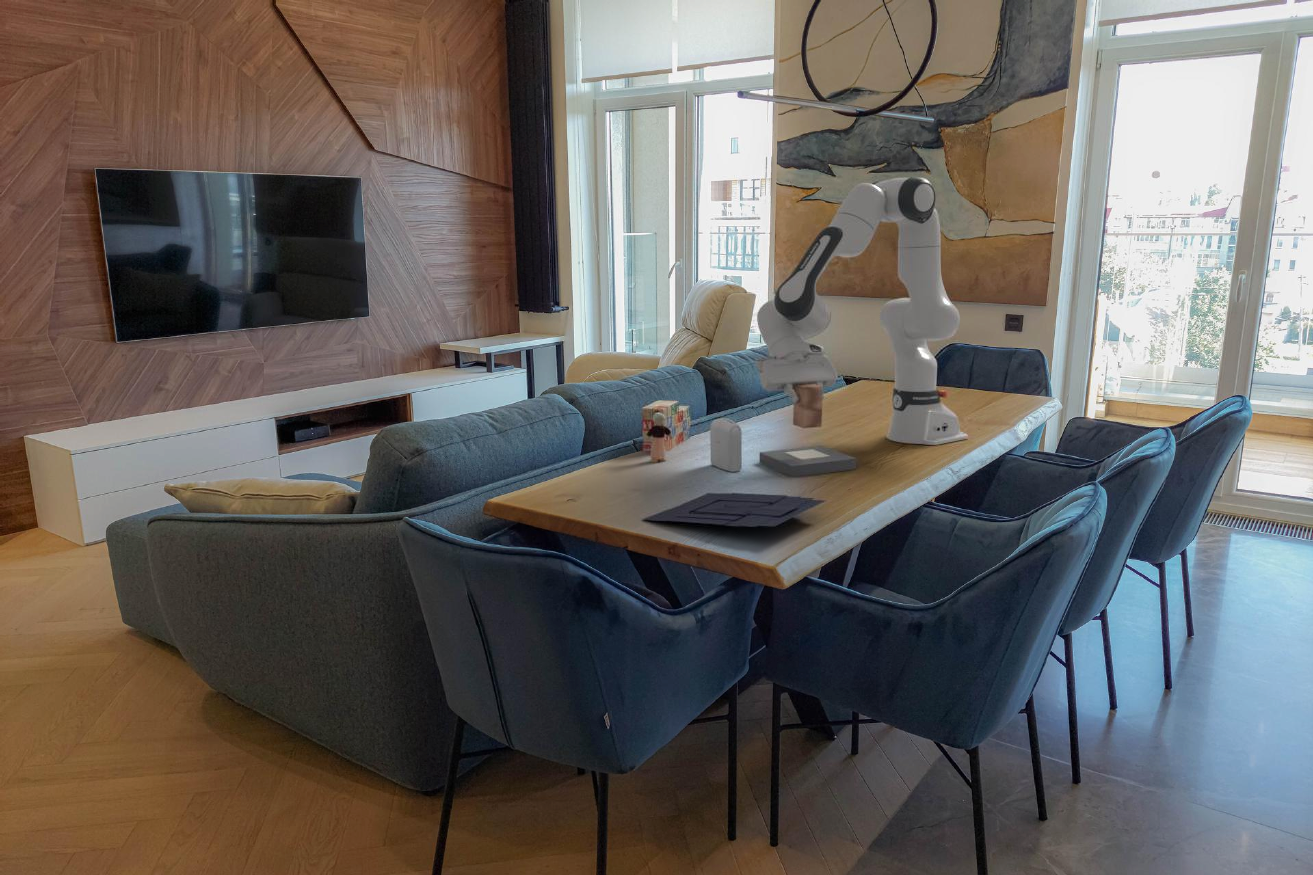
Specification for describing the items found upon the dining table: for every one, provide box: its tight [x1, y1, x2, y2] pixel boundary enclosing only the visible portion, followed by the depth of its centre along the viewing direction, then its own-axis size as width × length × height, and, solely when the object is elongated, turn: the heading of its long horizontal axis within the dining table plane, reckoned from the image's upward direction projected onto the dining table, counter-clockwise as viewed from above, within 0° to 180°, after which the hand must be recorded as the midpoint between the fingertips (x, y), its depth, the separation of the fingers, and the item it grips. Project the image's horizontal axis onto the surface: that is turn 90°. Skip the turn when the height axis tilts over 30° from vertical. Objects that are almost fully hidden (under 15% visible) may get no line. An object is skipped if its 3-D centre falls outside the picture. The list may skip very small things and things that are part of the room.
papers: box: [642, 492, 827, 528], centre depth 179 cm, size 24×30×4 cm
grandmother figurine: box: [644, 412, 673, 463], centre depth 227 cm, size 8×4×13 cm, turn 123°
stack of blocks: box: [641, 399, 691, 453], centre depth 246 cm, size 21×6×12 cm, turn 158°
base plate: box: [759, 445, 857, 478], centre depth 221 cm, size 18×16×3 cm
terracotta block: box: [792, 384, 824, 429], centre depth 218 cm, size 5×5×10 cm
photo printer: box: [709, 417, 743, 473], centre depth 219 cm, size 10×4×12 cm, turn 26°
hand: (809, 400), depth 217 cm, fingers closed on terracotta block, 5 cm apart
